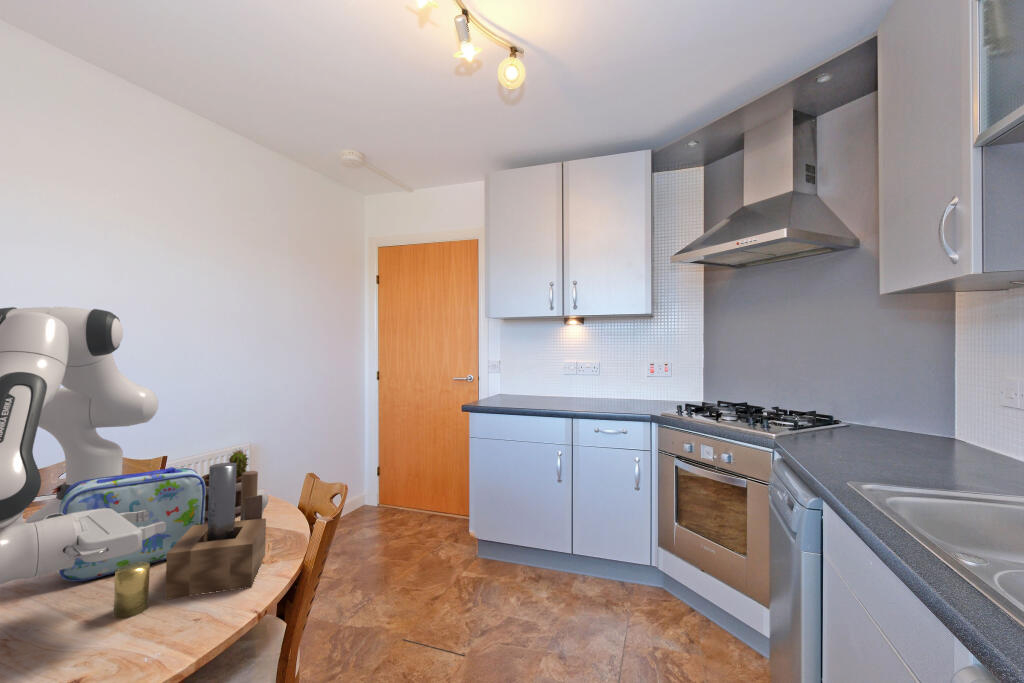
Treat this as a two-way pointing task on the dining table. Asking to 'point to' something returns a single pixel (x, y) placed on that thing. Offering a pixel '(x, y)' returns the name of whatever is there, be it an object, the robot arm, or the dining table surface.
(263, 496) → the lightbulb
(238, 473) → the flowerpot
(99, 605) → the dining table surface
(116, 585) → the brass pin
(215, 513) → the steel pin
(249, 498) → the wooden block
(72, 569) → the lunch box
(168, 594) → the block
